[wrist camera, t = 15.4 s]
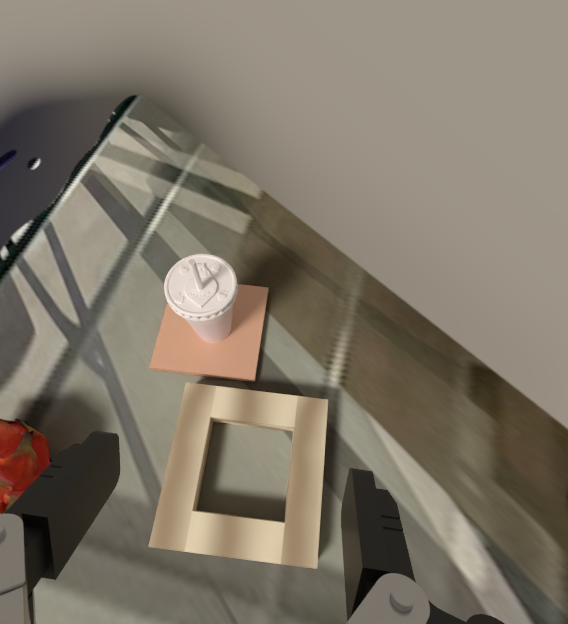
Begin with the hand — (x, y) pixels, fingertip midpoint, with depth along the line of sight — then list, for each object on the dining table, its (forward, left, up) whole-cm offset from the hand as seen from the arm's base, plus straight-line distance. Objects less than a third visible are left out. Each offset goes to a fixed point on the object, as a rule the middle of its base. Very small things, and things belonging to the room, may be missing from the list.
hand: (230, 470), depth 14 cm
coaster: (+7, -16, -26) cm, 31 cm away
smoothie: (+7, -16, -25) cm, 31 cm away
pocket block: (+1, -2, -26) cm, 26 cm away
